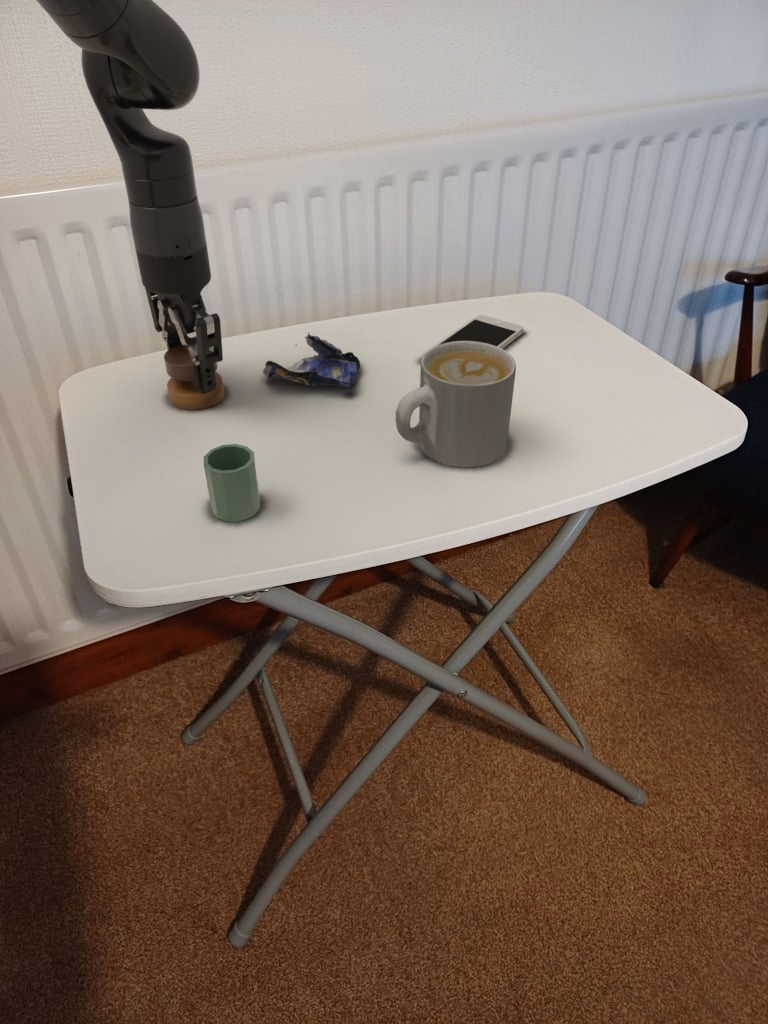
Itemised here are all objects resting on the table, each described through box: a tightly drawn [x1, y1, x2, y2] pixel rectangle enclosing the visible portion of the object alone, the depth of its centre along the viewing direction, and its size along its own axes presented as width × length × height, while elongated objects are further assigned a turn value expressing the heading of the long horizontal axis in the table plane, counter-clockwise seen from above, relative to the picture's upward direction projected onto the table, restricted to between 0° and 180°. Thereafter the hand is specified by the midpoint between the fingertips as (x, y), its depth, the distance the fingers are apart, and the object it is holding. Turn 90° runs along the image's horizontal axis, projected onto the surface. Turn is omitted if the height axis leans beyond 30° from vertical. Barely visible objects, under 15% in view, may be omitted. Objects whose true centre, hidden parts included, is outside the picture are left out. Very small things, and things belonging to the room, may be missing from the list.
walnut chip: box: [163, 343, 218, 381], centre depth 93 cm, size 6×6×2 cm
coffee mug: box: [395, 341, 517, 468], centre depth 85 cm, size 13×10×10 cm
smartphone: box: [422, 314, 525, 356], centre depth 106 cm, size 7×16×1 cm, turn 145°
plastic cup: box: [203, 443, 261, 523], centre depth 77 cm, size 5×5×6 cm
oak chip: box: [166, 371, 225, 411], centre depth 96 cm, size 7×7×2 cm
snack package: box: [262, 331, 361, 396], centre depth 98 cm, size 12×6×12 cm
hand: (193, 379), depth 95 cm, fingers closed on walnut chip, 6 cm apart
